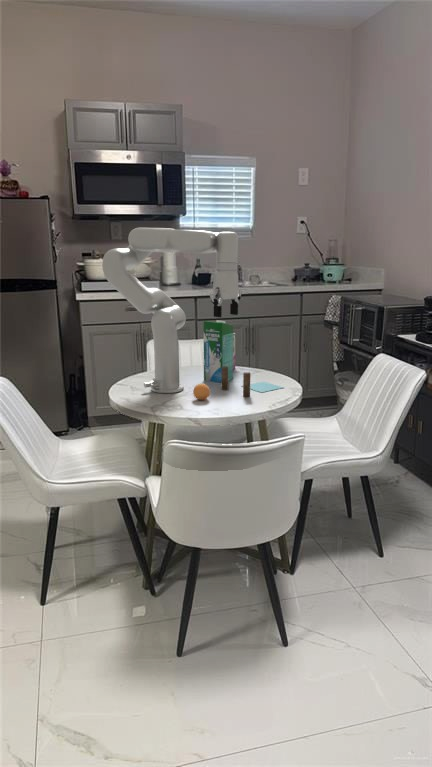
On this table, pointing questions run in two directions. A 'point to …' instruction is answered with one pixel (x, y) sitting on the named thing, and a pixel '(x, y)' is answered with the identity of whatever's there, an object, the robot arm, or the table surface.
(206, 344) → the milk carton
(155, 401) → the table surface
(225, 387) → the left post
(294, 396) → the table surface
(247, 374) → the right post
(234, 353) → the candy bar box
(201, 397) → the ball
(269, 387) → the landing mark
